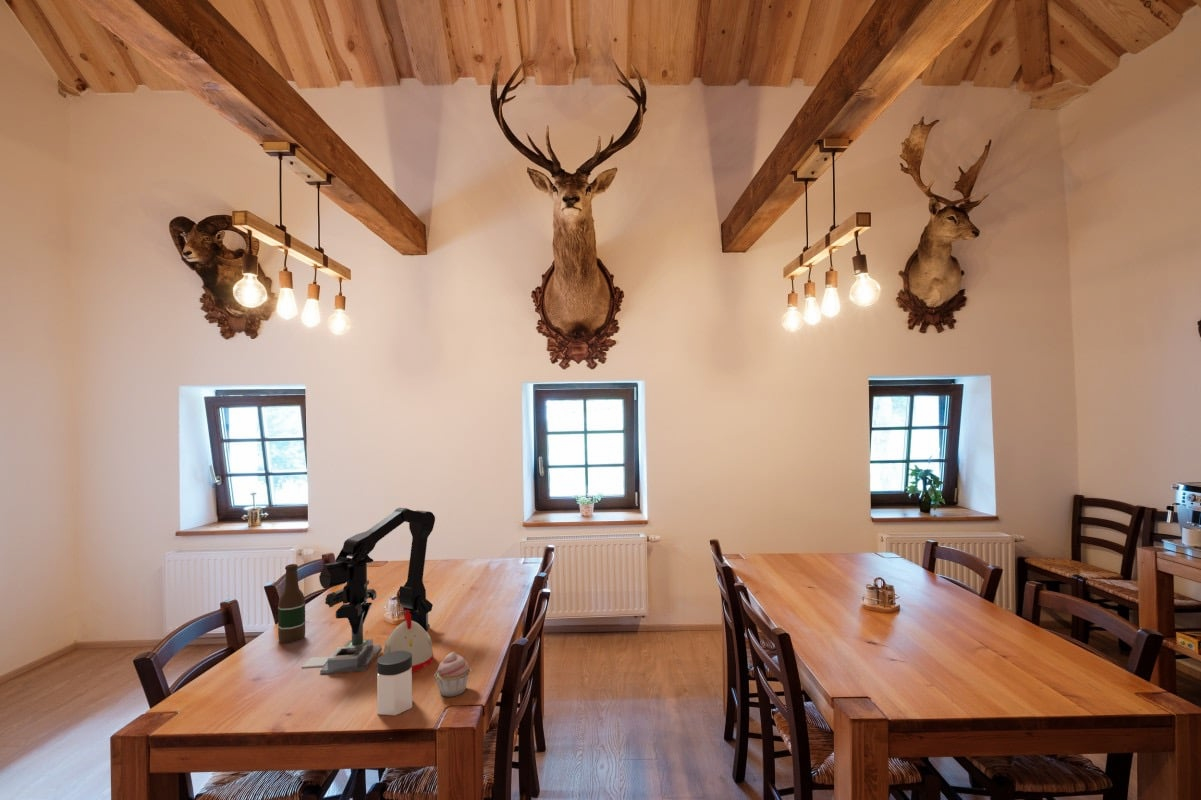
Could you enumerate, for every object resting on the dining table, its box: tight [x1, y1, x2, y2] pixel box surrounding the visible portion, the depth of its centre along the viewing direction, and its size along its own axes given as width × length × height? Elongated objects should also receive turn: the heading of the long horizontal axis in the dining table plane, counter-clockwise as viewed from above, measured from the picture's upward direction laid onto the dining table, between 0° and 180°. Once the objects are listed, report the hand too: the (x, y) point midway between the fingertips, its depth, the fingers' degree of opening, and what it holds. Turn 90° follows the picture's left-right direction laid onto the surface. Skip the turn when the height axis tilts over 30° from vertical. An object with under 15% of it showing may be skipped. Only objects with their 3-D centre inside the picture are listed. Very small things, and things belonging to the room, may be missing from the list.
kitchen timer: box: [382, 609, 434, 672], centre depth 161 cm, size 14×14×15 cm
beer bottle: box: [277, 563, 306, 644], centre depth 182 cm, size 8×8×24 cm
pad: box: [301, 656, 329, 669], centre depth 162 cm, size 6×6×1 cm
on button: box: [348, 640, 367, 646], centre depth 168 cm, size 4×4×2 cm
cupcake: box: [434, 651, 472, 698], centre depth 143 cm, size 9×9×10 cm
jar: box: [376, 651, 413, 717], centre depth 136 cm, size 9×8×12 cm
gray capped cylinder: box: [351, 609, 364, 646], centre depth 168 cm, size 4×4×10 cm
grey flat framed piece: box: [319, 638, 382, 675], centre depth 163 cm, size 12×16×4 cm
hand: (357, 631), depth 168 cm, fingers closed on gray capped cylinder, 3 cm apart
